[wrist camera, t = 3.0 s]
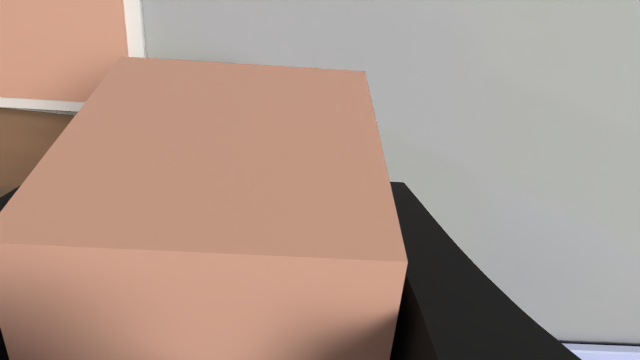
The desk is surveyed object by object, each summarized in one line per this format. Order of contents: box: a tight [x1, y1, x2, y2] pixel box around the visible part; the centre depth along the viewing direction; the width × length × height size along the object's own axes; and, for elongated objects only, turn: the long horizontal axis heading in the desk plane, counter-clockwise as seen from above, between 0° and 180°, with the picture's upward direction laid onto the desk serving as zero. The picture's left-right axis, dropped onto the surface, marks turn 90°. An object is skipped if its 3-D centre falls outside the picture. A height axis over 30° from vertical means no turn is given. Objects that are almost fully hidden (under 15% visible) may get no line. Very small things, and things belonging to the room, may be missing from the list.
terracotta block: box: [0, 56, 408, 360], centre depth 9 cm, size 4×4×5 cm
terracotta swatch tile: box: [0, 0, 146, 112], centre depth 15 cm, size 6×6×1 cm
